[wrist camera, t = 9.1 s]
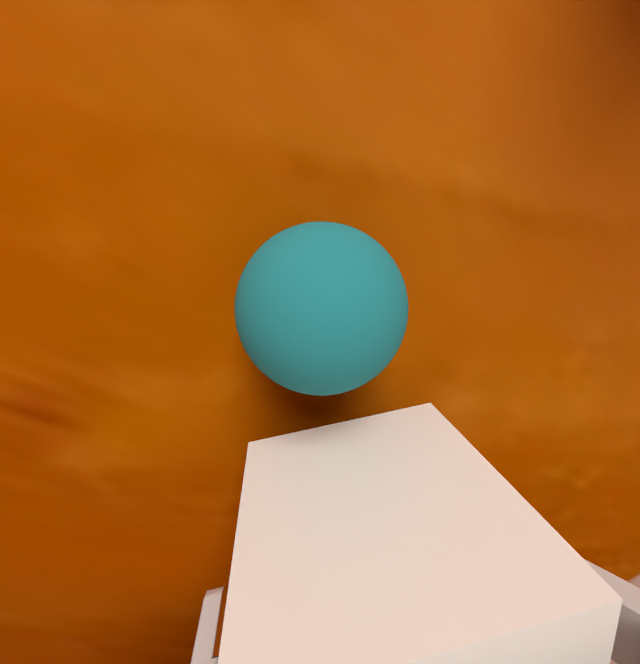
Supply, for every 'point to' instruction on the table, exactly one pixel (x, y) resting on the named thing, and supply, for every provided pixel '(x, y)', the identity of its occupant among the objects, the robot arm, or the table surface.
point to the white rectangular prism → (402, 556)
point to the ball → (321, 308)
